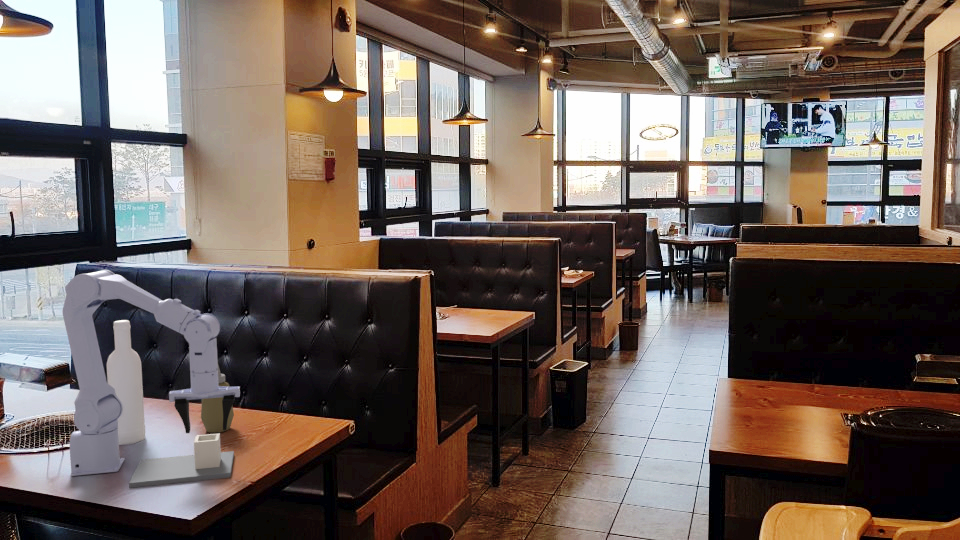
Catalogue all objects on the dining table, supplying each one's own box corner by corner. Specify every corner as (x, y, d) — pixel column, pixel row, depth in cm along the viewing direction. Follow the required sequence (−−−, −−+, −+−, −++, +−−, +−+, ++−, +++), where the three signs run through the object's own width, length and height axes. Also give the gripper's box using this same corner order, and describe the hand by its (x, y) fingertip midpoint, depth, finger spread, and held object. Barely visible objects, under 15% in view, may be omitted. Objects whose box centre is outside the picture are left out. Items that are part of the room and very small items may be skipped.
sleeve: (195, 469, 160) (193, 442, 159) (197, 461, 165) (196, 435, 164) (219, 466, 161) (218, 440, 161) (221, 458, 166) (219, 433, 166)
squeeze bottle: (239, 425, 194) (236, 358, 192) (226, 435, 186) (223, 365, 184) (210, 424, 195) (207, 358, 193) (195, 434, 187) (192, 365, 185)
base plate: (129, 487, 153) (128, 466, 152) (141, 464, 166) (139, 444, 166) (230, 477, 158) (229, 457, 157) (233, 455, 171) (233, 436, 171)
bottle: (110, 437, 184) (103, 320, 181) (144, 432, 188) (138, 317, 185) (110, 447, 177) (103, 325, 174) (146, 442, 181) (140, 322, 178)
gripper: (165, 376, 155) (168, 439, 157) (237, 372, 159) (240, 432, 160) (170, 369, 162) (173, 429, 163) (239, 365, 166) (241, 423, 167)
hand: (206, 430), depth 162 cm, fingers open, 7 cm apart
